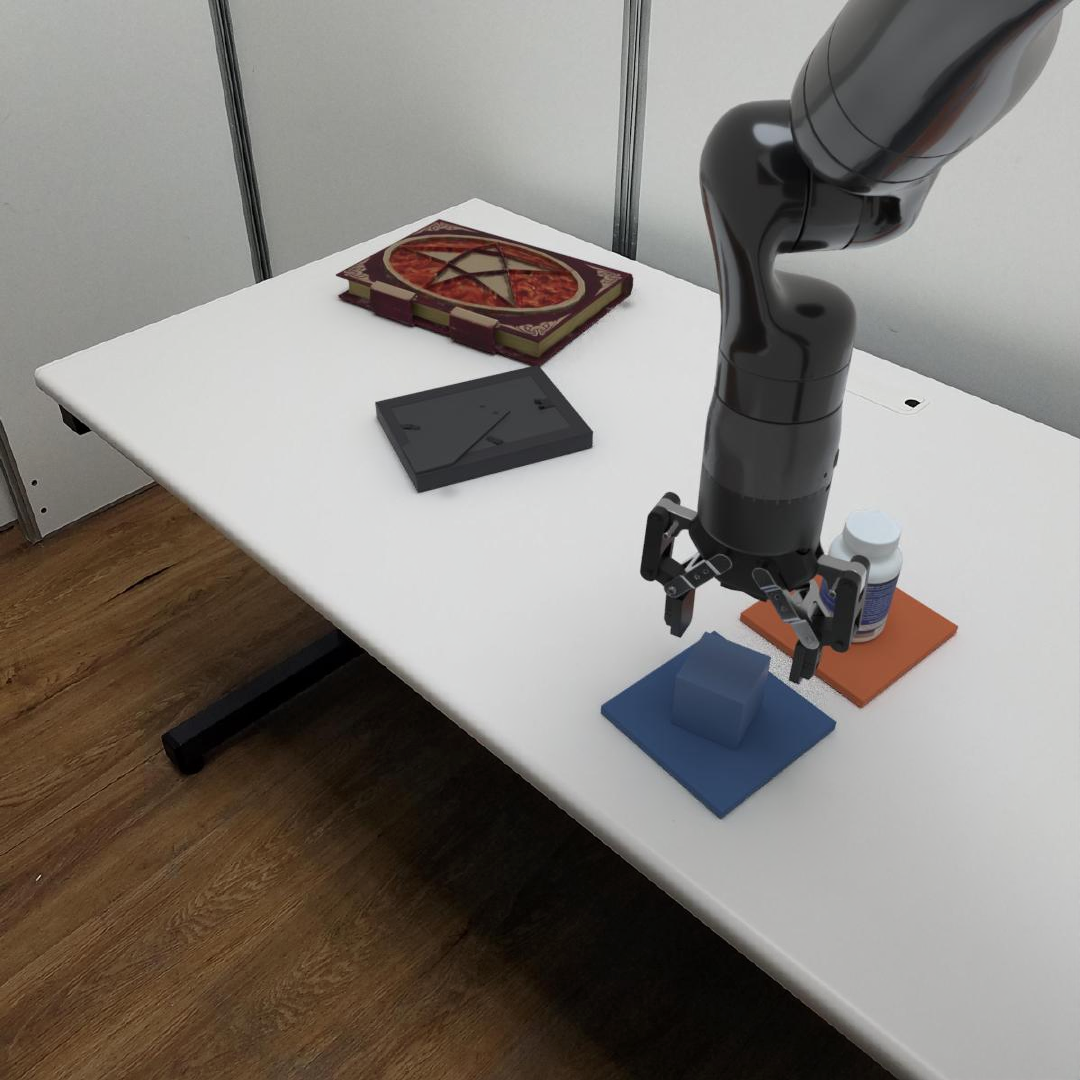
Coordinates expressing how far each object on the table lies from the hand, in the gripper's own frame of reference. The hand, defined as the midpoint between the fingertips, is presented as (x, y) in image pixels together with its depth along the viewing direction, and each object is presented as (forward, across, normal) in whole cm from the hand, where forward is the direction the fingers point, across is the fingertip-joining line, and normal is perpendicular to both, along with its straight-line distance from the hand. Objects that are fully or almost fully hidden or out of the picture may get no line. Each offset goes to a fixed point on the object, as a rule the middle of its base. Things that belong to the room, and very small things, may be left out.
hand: (738, 651), depth 72 cm
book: (+7, -50, +46) cm, 68 cm away
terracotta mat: (+8, +4, +14) cm, 17 cm away
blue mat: (+8, -1, 0) cm, 8 cm away
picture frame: (+7, -36, +22) cm, 42 cm away
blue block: (+7, -1, 0) cm, 7 cm away
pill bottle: (+7, +4, +14) cm, 16 cm away
